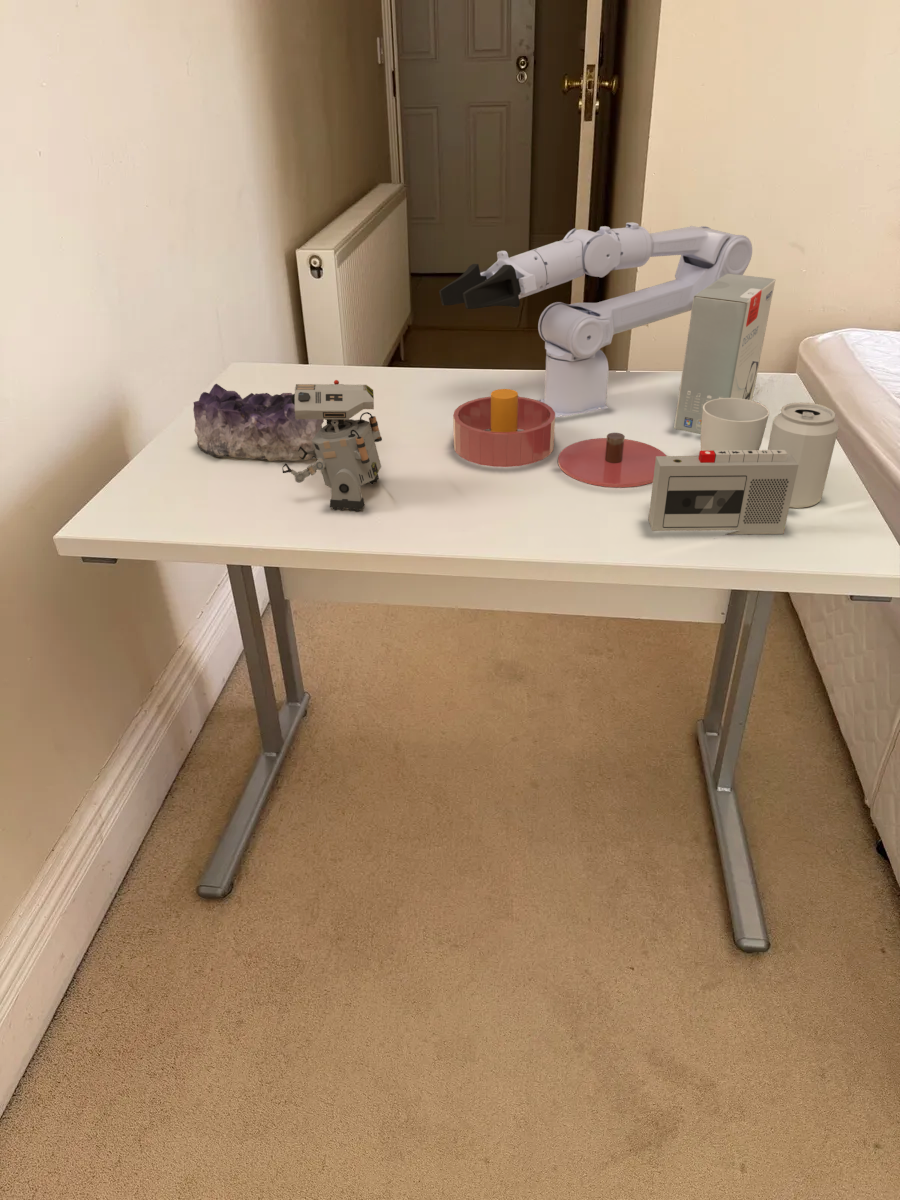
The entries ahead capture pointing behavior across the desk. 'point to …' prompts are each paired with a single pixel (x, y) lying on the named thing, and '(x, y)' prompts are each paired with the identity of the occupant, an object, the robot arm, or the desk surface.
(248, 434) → the geode
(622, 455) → the lid
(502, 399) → the candle
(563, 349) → the robot arm
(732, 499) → the cassette player
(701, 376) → the hard drive box
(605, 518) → the desk surface
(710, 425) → the cup
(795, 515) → the desk surface
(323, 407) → the figurine
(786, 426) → the can
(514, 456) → the pot
